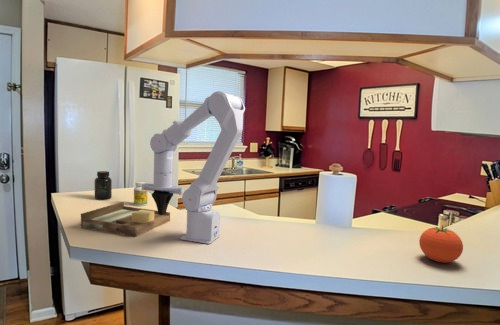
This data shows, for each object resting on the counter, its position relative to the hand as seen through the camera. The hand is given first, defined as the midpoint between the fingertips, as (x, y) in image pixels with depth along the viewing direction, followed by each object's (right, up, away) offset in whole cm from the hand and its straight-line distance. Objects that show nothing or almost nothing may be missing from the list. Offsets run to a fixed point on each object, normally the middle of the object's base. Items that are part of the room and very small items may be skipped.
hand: (162, 214), depth 103 cm
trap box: (-13, -4, +4) cm, 14 cm away
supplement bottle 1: (-37, 0, +39) cm, 54 cm away
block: (-7, -2, +2) cm, 8 cm away
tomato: (+80, -11, -15) cm, 82 cm away
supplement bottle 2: (-18, -1, +31) cm, 36 cm away
